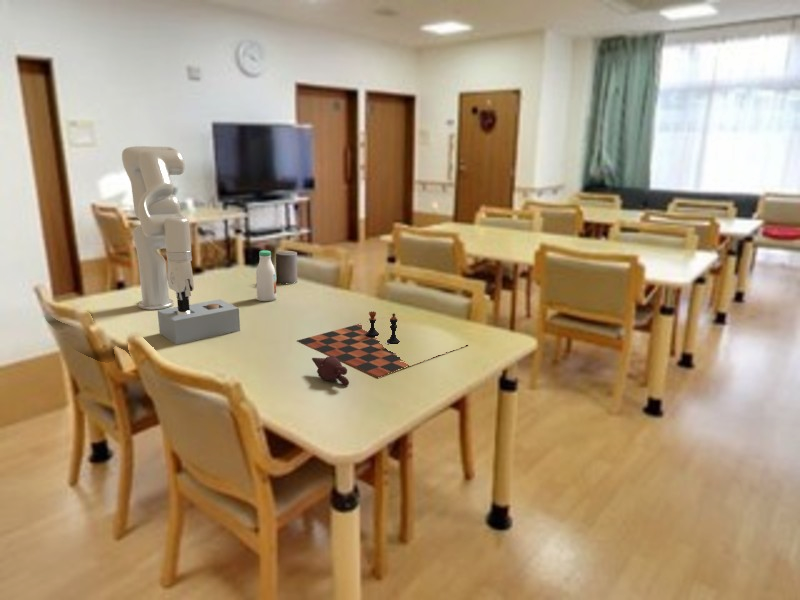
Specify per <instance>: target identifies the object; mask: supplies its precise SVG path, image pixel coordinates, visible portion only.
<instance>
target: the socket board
mask: <svg viewBox="0 0 800 600" xmlns="http://www.w3.org/2000/svg"><path fill="white" fill-rule="evenodd" d="M209 304H219V308H217V309H211V310H208V309H207V305H209ZM189 308H190V312H191V313H190V314H185V315H180V316H179V315H178V313H177V311H178V306H175V307H168V308H163V309H157V319H158V329H159V334H160V335H161V336H163V337H165V338H166V339H167V340H169V341H170V342H172V343H173V344H175V346H177V345H182V344H186V343H190V342H191V343H192V342H194V341H199V340H205V339H208V338H213V337H218V336H223V335H227V334H231V332H232V333H236V332H239V331H241V327H240V326H241V324H240V308H239V307H237V306H235V305H233V304H231V303H229V302H227V301H224V300H222V299H221V298H220V299H214V300H207V301H204V302H198V303H193V304H189ZM226 333H227V334H226Z"/></svg>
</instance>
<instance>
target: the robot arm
mask: <svg viewBox="0 0 800 600" xmlns="http://www.w3.org/2000/svg"><path fill="white" fill-rule="evenodd" d="M121 159H122V160H121V161H122V166H123V168H124V170H125V172H126V175H127V176H128V178H129V181H130V185H131V194H132V195H131V196H132V201H133V203H132V204H133V209H134V214H135V217H136V218H137V219H138V220H139V223H140V224H139V225H138V226H136V227H134V229H133V230H132V238H133V242H134V246H135V250H136V251H135V252H136V253H137V254H136V256H137V261H138V262H137V263H138V269H139V270H138V271H139V280H140V290H141V291H140V292H141V299H142V301H139V302H138V308H140V309H143V310H151V311H152V310H153V311H154V310H163V309H168V308H171V307H172V306H173V305H174V303H175V302H174V300H173V299H172V298H171V299H170V296H169V289H170V290H172V291H174V292H175V295H176V300H177V301H176V302H177V307H178V311H180V312H184V311H189V310H190V308H189V305H190V297H192V291H193V290H194V289H195V286H194V275H193V268H192V263H191V261H193V256H192V252H193V251H192V243H191V229H190V220H189V219H188V218H187V217H186V216H185V215H184V214H182V211H181V204H180V202H179V199H178V197H177V196H176V195H175V194H173V192H174V190H175V189H174V185H173V182H172V179H171V176H181V175H182V174H183V173H184V172H185V166H186V165H185V160H184V158H183V155H182V153H180V151H179V150H178V149H175V148H173V147H170V146H145V145H144V146H143V145H142V146H141V145H138V146H137V145H136V146H130V147H126V148H124V149H123V150H122V153H121ZM161 249H165V251H166V259H165V257H164V256H163V254H161V253H160V252H158V251H159V250H161Z"/></svg>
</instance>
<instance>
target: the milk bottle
mask: <svg viewBox="0 0 800 600" xmlns="http://www.w3.org/2000/svg"><path fill="white" fill-rule="evenodd" d="M258 255H259V260H258V262H259V263H258V264H257V268H256V270H255V274H256V275H255V276H256V278H255V280H256V281H255V282H256V298H257V300H258V301H260V302H271V301H274V300H276V299H277V282H276V267H275V266H274V265H273V262H272V258H271V257H272V252H271V251H270V250H266V249H265V250H260V251H259V252H258Z"/></svg>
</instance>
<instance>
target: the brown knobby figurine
mask: <svg viewBox="0 0 800 600" xmlns="http://www.w3.org/2000/svg"><path fill="white" fill-rule="evenodd" d="M311 360H312V362H313V363H314V365H315V367H317V370H316V372H317V376H318V377H320V379H322V380H326V381H336V380H338V381H339V382H340V383H341V385H344V386H346V385H347V386H349V384H350V381H349V379H348V378H347V377H345V375H346V374H347V373H348V369H347V368H346V366H343V364H342V362H341V361H339V360H338V359H337V358H336V357H334V356H327V357H312V358H311Z"/></svg>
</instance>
